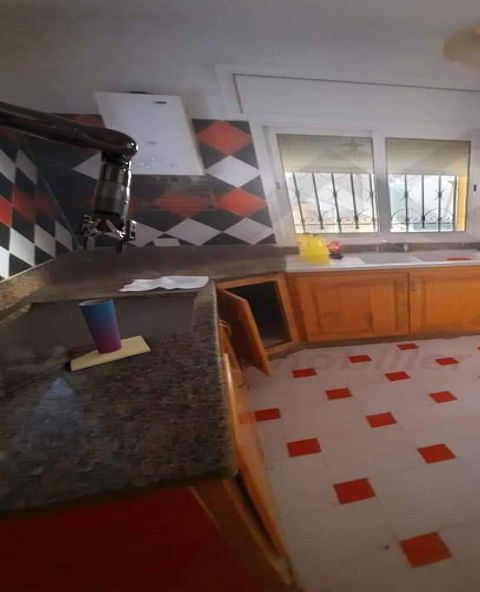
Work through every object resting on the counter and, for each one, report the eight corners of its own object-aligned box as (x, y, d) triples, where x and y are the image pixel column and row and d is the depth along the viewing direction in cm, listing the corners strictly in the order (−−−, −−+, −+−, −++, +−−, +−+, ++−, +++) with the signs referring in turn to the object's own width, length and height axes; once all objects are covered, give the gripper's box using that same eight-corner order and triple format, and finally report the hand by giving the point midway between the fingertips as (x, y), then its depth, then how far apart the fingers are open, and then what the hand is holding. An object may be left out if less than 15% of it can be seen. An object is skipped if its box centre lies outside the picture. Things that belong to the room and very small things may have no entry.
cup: (91, 357, 89) (75, 306, 85) (97, 349, 94) (82, 301, 90) (124, 351, 93) (110, 302, 89) (127, 343, 98) (114, 297, 94)
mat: (71, 371, 83) (71, 369, 82) (70, 353, 93) (69, 351, 93) (150, 350, 94) (150, 349, 94) (141, 337, 104) (140, 335, 104)
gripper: (73, 191, 91) (65, 247, 90) (127, 197, 92) (119, 252, 91) (97, 200, 98) (90, 252, 97) (147, 206, 100) (140, 256, 99)
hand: (104, 252), depth 94 cm, fingers open, 8 cm apart
